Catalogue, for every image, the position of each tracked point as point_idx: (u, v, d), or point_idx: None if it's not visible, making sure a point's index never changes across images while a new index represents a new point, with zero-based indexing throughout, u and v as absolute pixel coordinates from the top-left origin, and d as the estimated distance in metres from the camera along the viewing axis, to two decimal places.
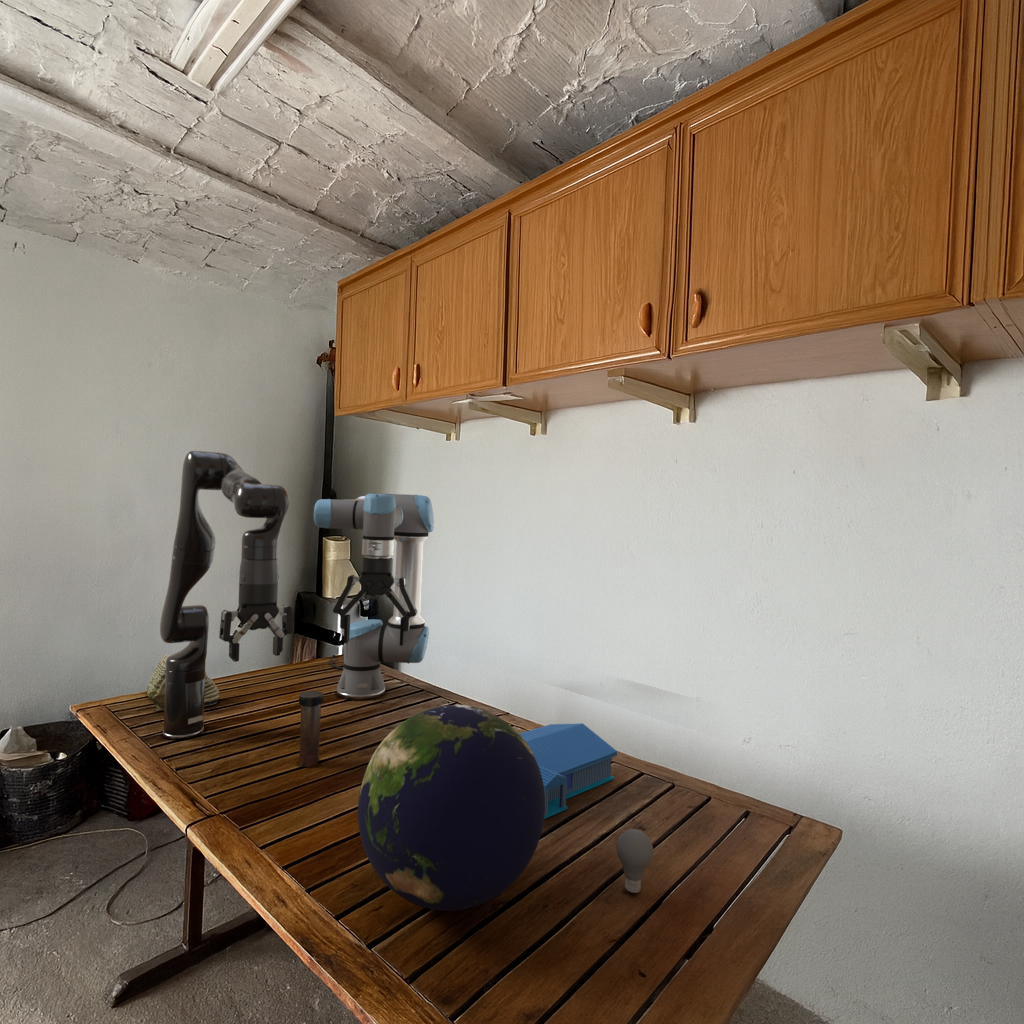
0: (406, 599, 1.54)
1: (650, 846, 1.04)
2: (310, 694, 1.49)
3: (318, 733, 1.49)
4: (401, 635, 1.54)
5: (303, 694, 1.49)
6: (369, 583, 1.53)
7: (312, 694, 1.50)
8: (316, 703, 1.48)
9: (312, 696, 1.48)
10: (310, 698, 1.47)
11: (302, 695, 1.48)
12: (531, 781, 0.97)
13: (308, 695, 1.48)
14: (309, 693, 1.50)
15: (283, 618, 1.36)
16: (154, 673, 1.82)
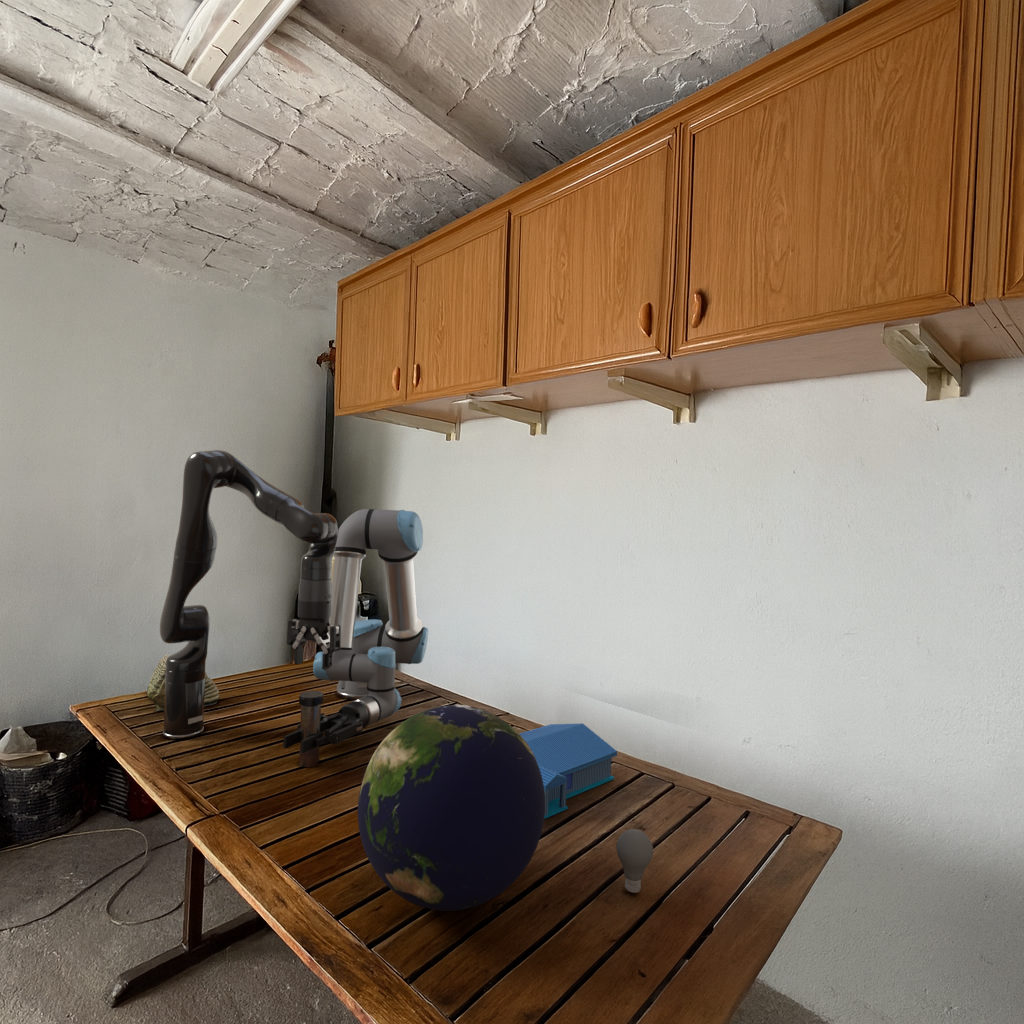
0: None
1: (650, 846, 1.04)
2: (310, 694, 1.49)
3: None
4: None
5: (303, 694, 1.49)
6: None
7: (312, 694, 1.50)
8: (316, 703, 1.48)
9: (312, 696, 1.48)
10: (310, 698, 1.47)
11: (302, 695, 1.48)
12: (531, 781, 0.97)
13: (308, 695, 1.48)
14: (309, 693, 1.50)
15: (293, 631, 1.51)
16: (154, 673, 1.82)
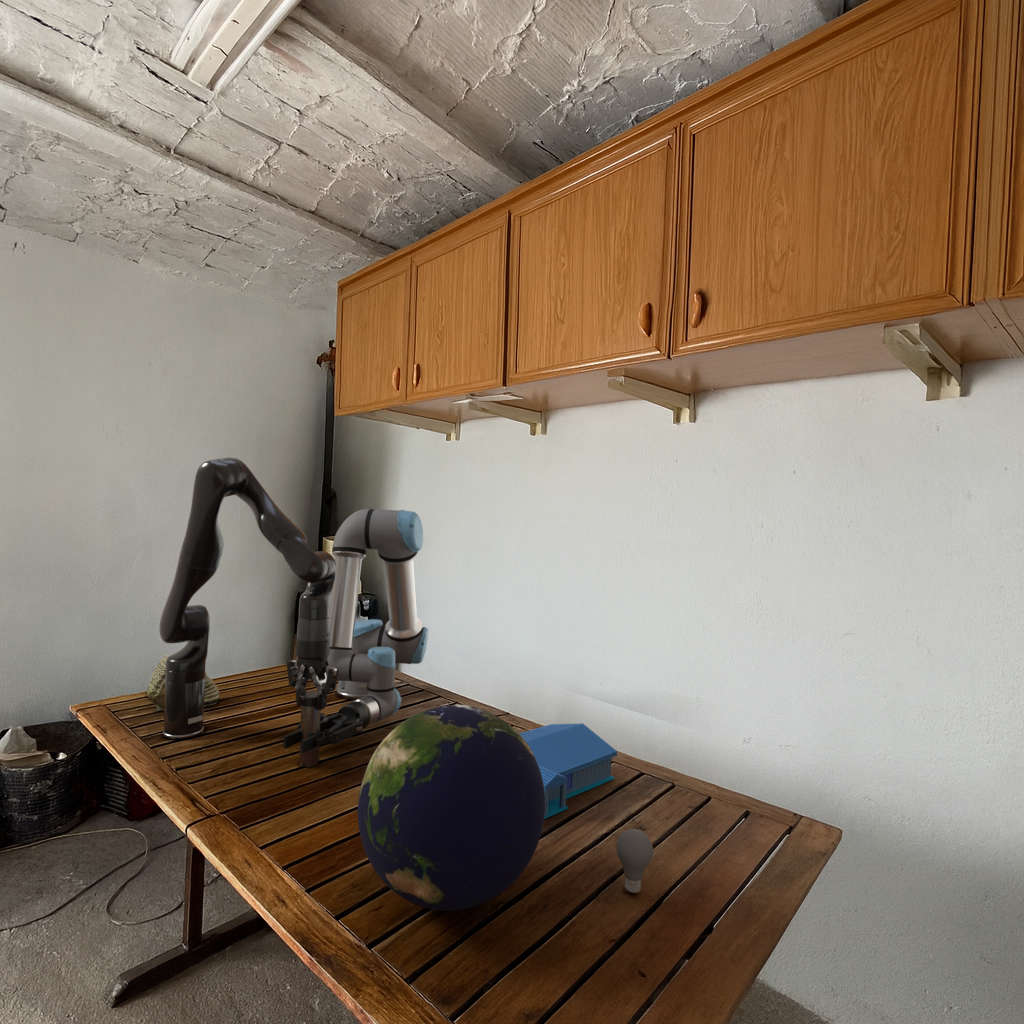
0: None
1: (650, 846, 1.04)
2: (310, 694, 1.49)
3: None
4: None
5: (303, 694, 1.49)
6: None
7: (312, 694, 1.50)
8: (316, 703, 1.48)
9: (312, 696, 1.48)
10: (310, 698, 1.47)
11: (302, 695, 1.49)
12: (531, 781, 0.97)
13: (308, 695, 1.48)
14: (309, 693, 1.50)
15: (293, 672, 1.51)
16: (154, 673, 1.82)
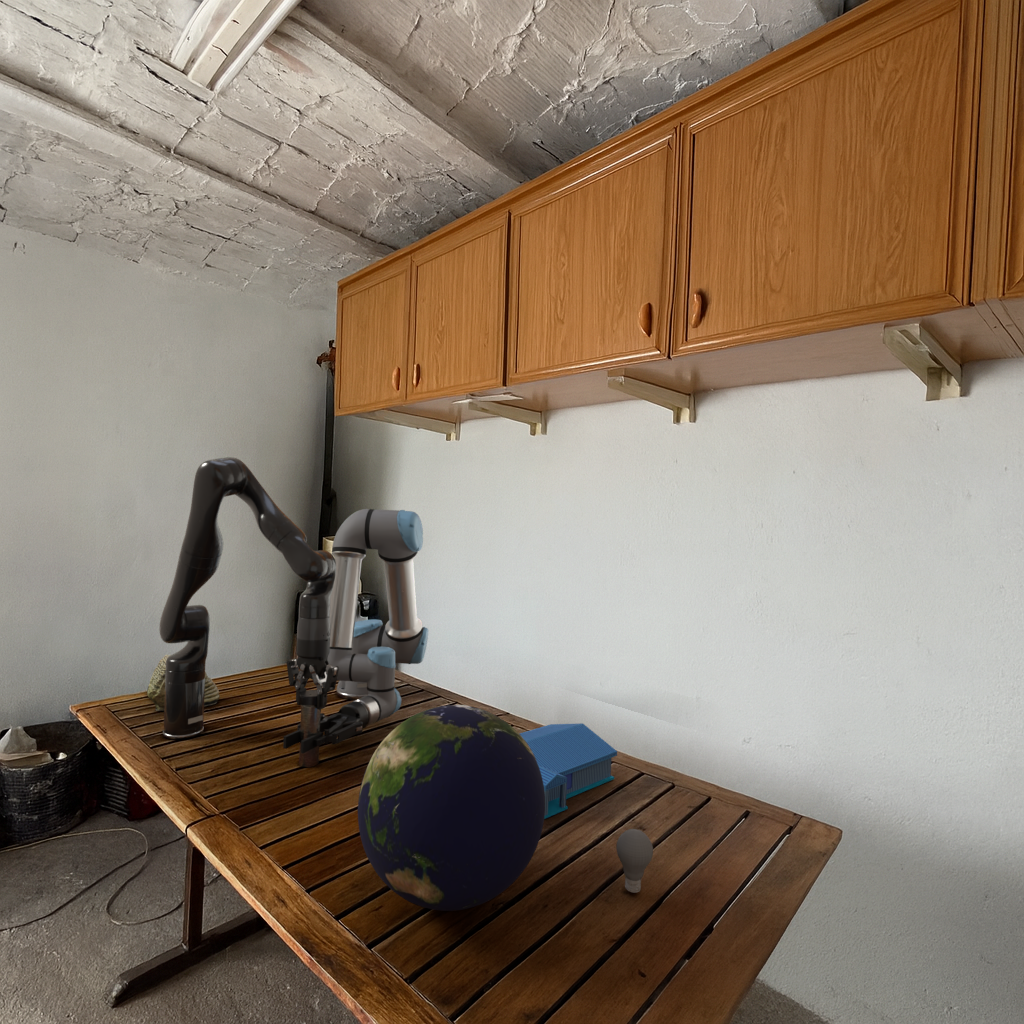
0: None
1: (650, 846, 1.04)
2: (312, 693, 1.50)
3: None
4: None
5: (309, 695, 1.48)
6: None
7: (313, 692, 1.50)
8: None
9: None
10: None
11: (312, 695, 1.48)
12: (531, 781, 0.97)
13: (315, 694, 1.49)
14: (308, 693, 1.49)
15: (293, 671, 1.51)
16: (154, 673, 1.82)
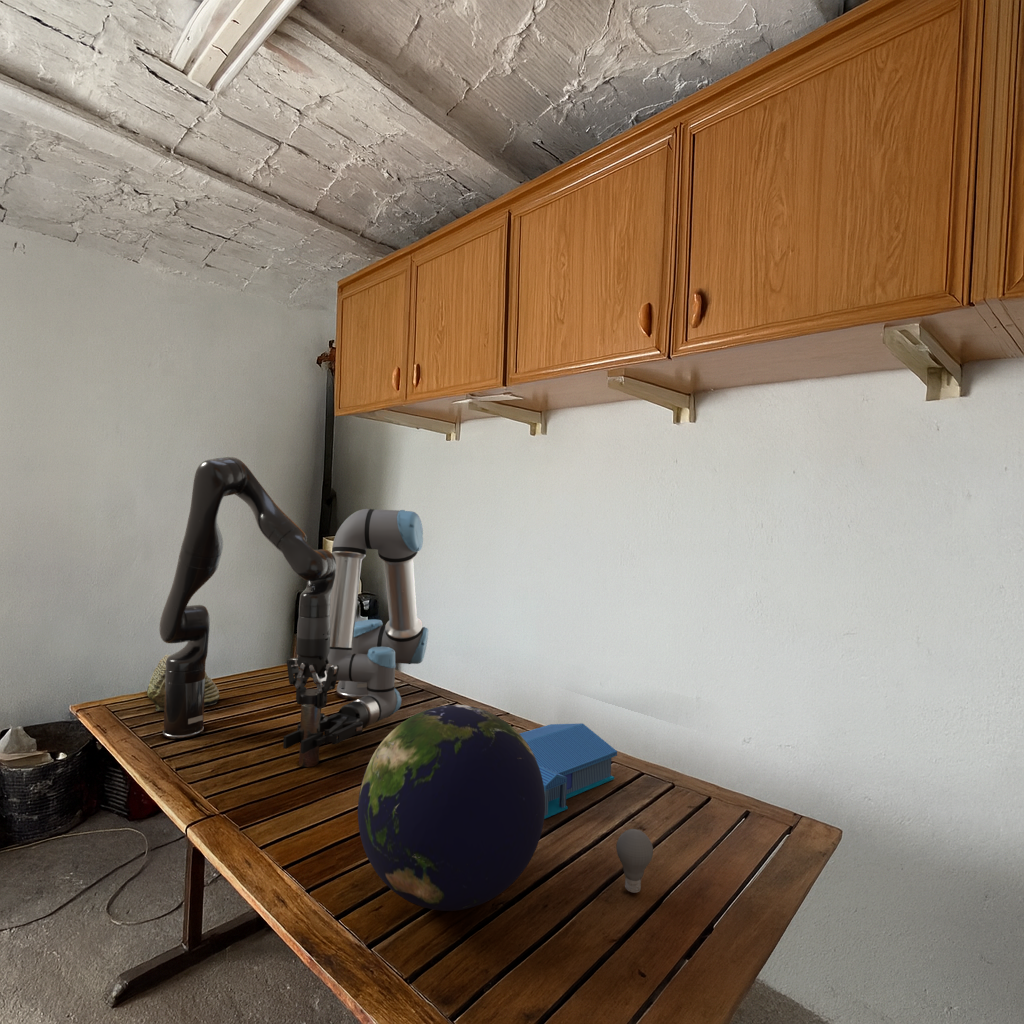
0: None
1: (650, 846, 1.04)
2: (313, 691, 1.50)
3: None
4: None
5: None
6: None
7: (311, 691, 1.50)
8: None
9: (315, 689, 1.52)
10: None
11: None
12: (531, 781, 0.97)
13: (317, 691, 1.51)
14: (312, 693, 1.49)
15: (294, 670, 1.51)
16: (154, 673, 1.82)
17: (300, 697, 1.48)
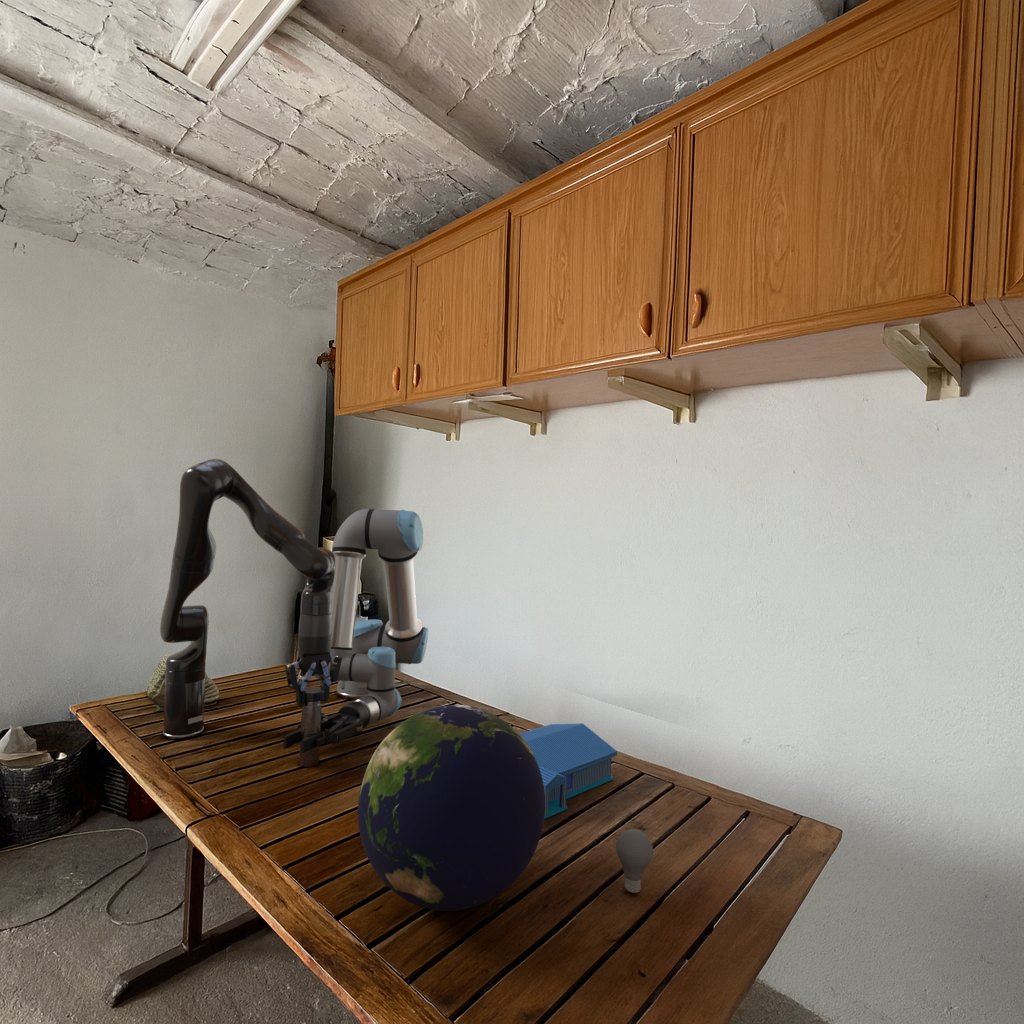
0: None
1: (650, 846, 1.04)
2: (313, 689, 1.51)
3: None
4: None
5: (319, 688, 1.52)
6: None
7: (311, 689, 1.50)
8: None
9: (307, 688, 1.51)
10: None
11: (318, 687, 1.52)
12: (531, 781, 0.97)
13: (312, 688, 1.52)
14: (316, 690, 1.50)
15: None
16: (154, 673, 1.82)
17: (312, 696, 1.48)
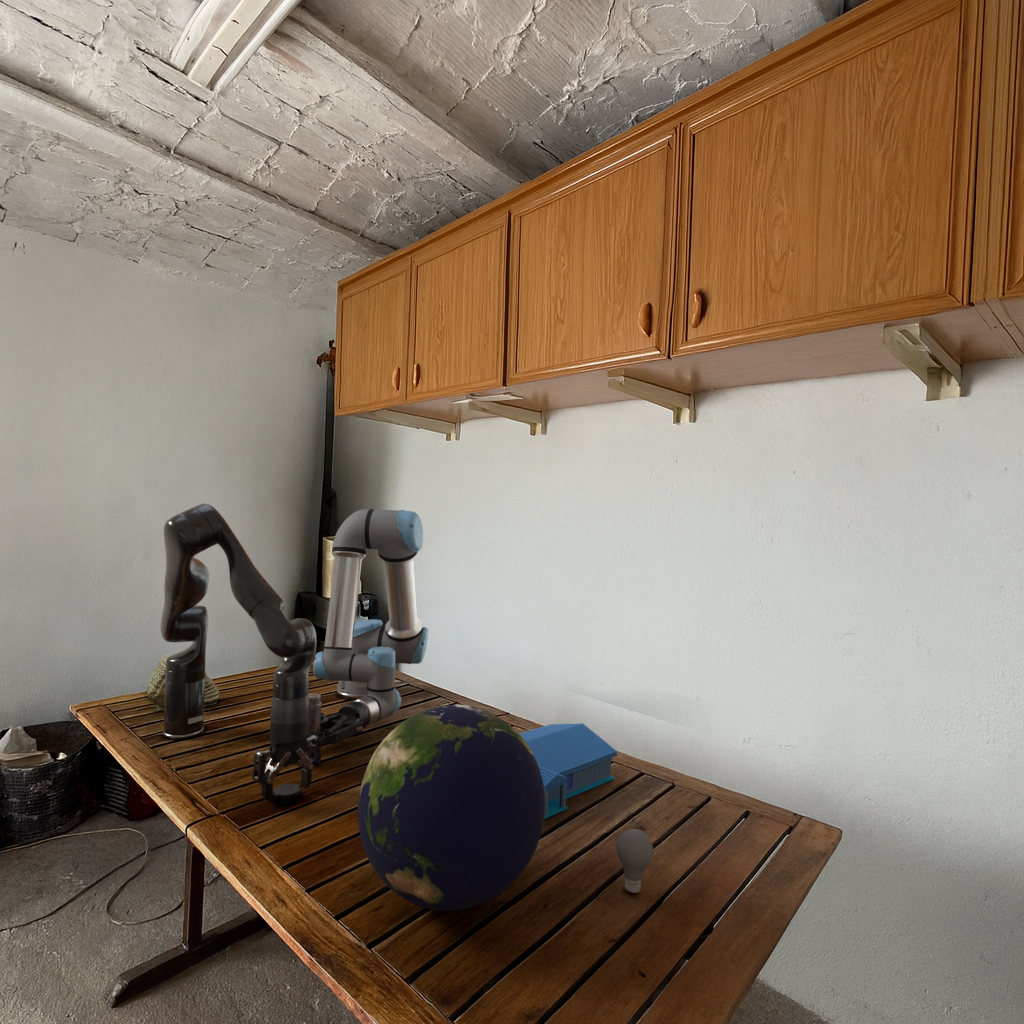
0: None
1: (650, 846, 1.04)
2: (287, 788, 1.32)
3: None
4: None
5: (294, 786, 1.34)
6: None
7: (285, 789, 1.32)
8: None
9: (280, 787, 1.33)
10: None
11: (292, 784, 1.34)
12: (531, 781, 0.97)
13: (286, 786, 1.33)
14: (290, 789, 1.32)
15: None
16: (154, 673, 1.82)
17: (287, 799, 1.30)
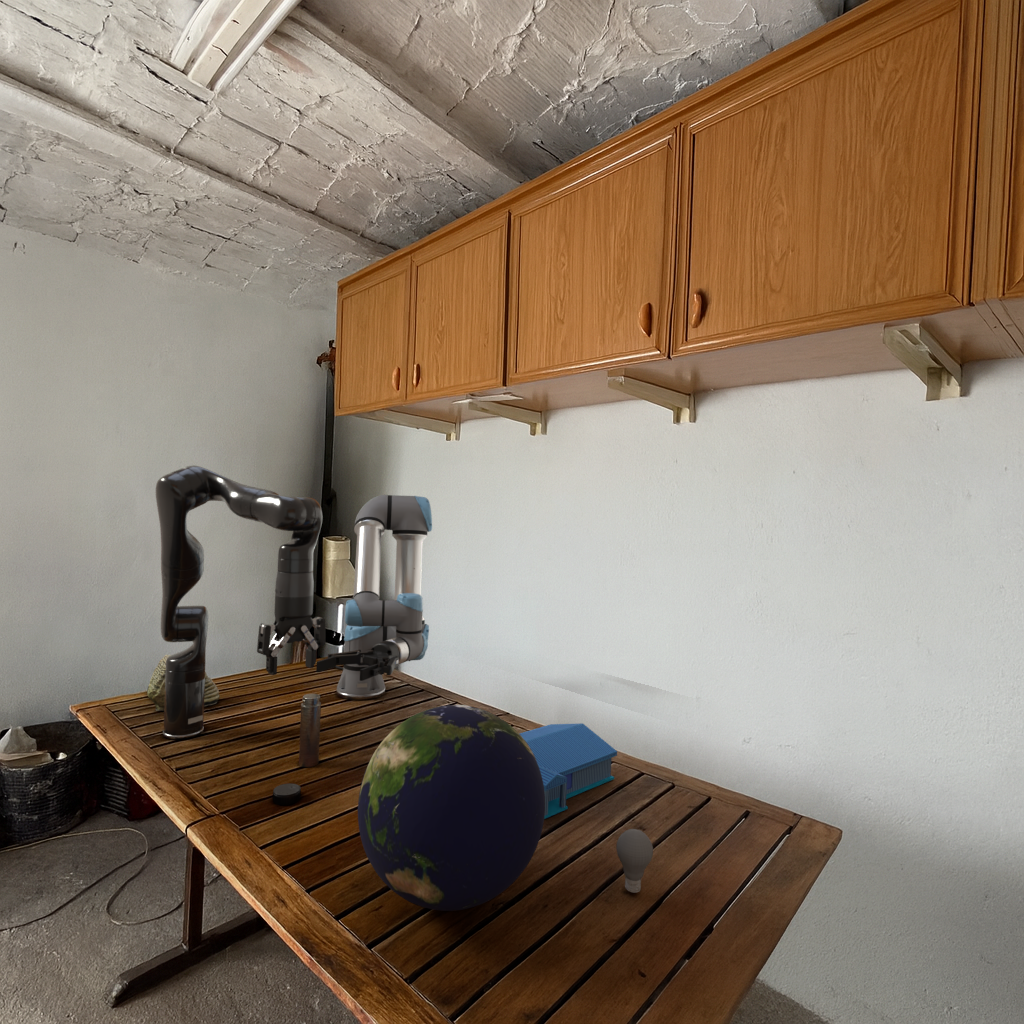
0: None
1: (650, 846, 1.04)
2: (287, 788, 1.32)
3: (318, 733, 1.49)
4: None
5: (294, 786, 1.34)
6: None
7: (285, 789, 1.32)
8: None
9: (280, 787, 1.33)
10: None
11: (292, 784, 1.34)
12: (531, 781, 0.97)
13: (286, 786, 1.33)
14: (290, 789, 1.32)
15: None
16: (154, 673, 1.82)
17: (287, 799, 1.30)
